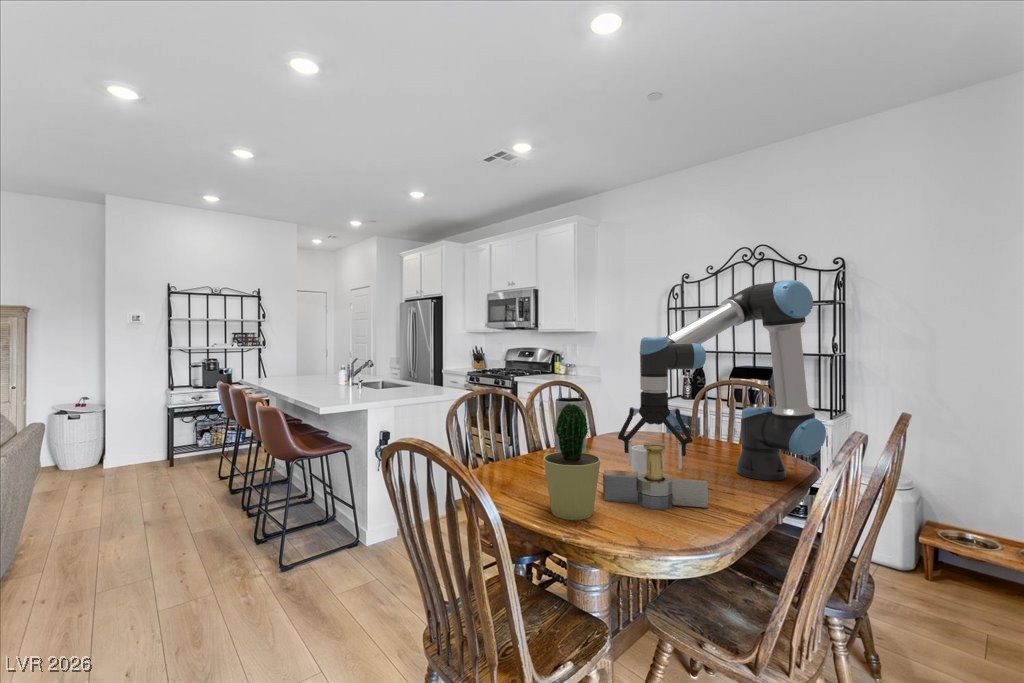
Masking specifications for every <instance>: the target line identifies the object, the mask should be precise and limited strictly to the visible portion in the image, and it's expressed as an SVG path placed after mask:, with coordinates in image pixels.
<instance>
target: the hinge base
mask: <svg viewBox="0 0 1024 683" xmlns="http://www.w3.org/2000/svg"><path fill="white" fill-rule="evenodd" d="M604 479H605V499H604V501H606V502H618V503H629V504H631V503H632V504H637V505H639V506H640V507H642V508H644V509H645V508H646V509H649V510H656V511H657V510H659V511H661V510H662V511H663V510H669V509H671V508H672V507H673V493H672V494H670V495H668V496H650V495H646V494H642V493H640V492H639V491H638V489H637V476H621V475H605V476H604Z"/></svg>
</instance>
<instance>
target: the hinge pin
mask: <svg viewBox="0 0 1024 683" xmlns="http://www.w3.org/2000/svg"><path fill="white" fill-rule="evenodd" d="M642 445H643V447H644V448H645V449H646V469H647V480H649V481H656V482H659V481H663V475H664V474H663V473H664V472H663V468H664V466H663V457H664V454H663V450H664V451H665V450H666V444H665V443H663V442H660V441H659V442H658V441H646V442H643V444H642Z"/></svg>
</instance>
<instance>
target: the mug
mask: <svg viewBox="0 0 1024 683" xmlns="http://www.w3.org/2000/svg"><path fill="white" fill-rule="evenodd" d="M631 460H632V464H631V471H633V472H638V476H639V475H641V474H647V469H646V449H645V448H644V447H643V444H641V445H638V444H637V445H633V446H631ZM664 466H665V457H664V456H663V467H664Z"/></svg>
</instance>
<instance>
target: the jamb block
mask: <svg viewBox="0 0 1024 683" xmlns="http://www.w3.org/2000/svg"><path fill="white" fill-rule="evenodd" d="M605 475H621V476H637V489H638V472H633V471H632V470H631V471H630V470H613V469H604V470H603V473H602V479H603V480H602V494H603V495H602V497H603V500H605V479H604V476H605Z"/></svg>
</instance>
